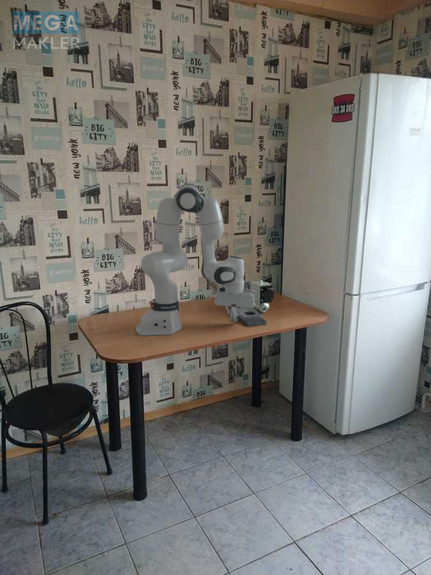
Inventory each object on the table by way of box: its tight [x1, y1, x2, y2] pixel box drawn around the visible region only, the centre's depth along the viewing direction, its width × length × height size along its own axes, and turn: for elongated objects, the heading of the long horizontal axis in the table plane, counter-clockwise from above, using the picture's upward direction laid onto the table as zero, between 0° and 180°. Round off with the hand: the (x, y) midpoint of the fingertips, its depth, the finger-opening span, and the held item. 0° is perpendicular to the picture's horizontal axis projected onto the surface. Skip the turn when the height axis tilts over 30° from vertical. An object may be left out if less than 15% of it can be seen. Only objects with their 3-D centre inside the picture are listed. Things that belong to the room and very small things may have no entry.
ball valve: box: [247, 279, 275, 313], centre depth 232 cm, size 18×8×18 cm, turn 22°
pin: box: [229, 304, 240, 322], centre depth 211 cm, size 5×5×9 cm
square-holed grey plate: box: [238, 307, 267, 328], centre depth 219 cm, size 10×20×4 cm, turn 17°
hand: (234, 314), depth 211 cm, fingers closed on pin, 4 cm apart
